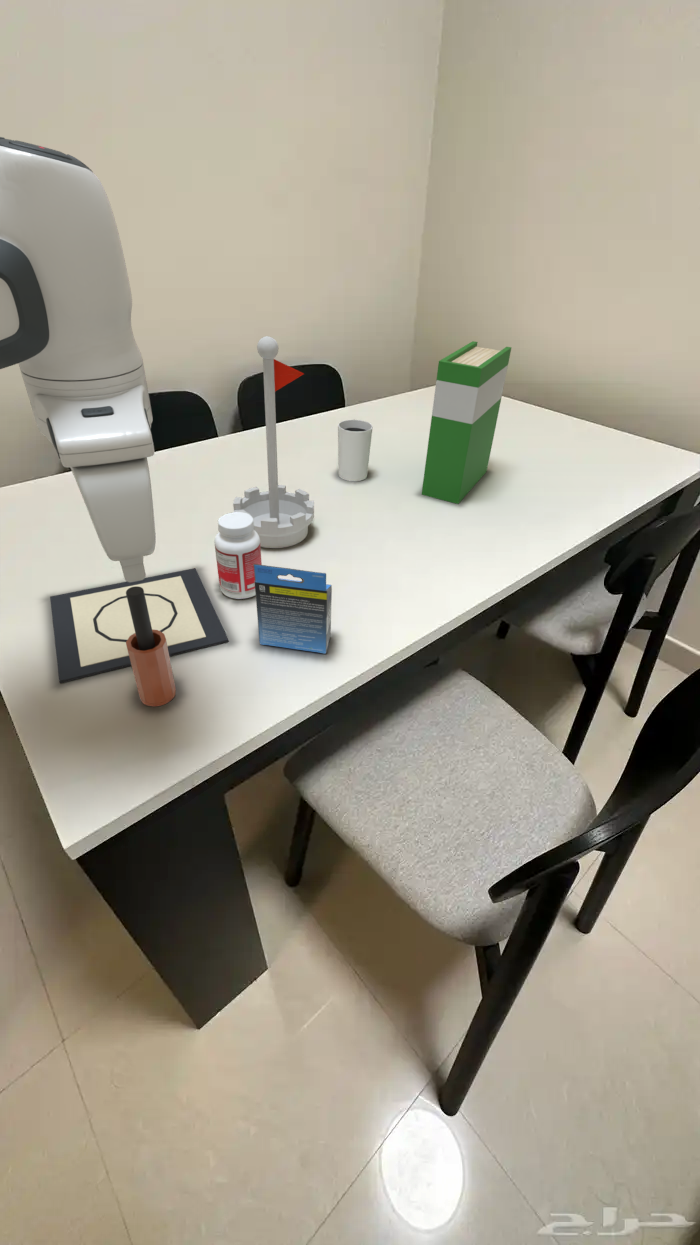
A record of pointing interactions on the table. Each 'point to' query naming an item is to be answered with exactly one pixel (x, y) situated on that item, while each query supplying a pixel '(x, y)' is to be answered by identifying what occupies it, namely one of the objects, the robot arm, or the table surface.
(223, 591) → the pill bottle
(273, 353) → the flag stand
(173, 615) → the desk mat
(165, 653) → the pen cup
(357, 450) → the white cup
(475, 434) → the hardback book
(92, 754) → the table surface
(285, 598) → the blue retail box
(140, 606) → the marker
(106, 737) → the table surface
